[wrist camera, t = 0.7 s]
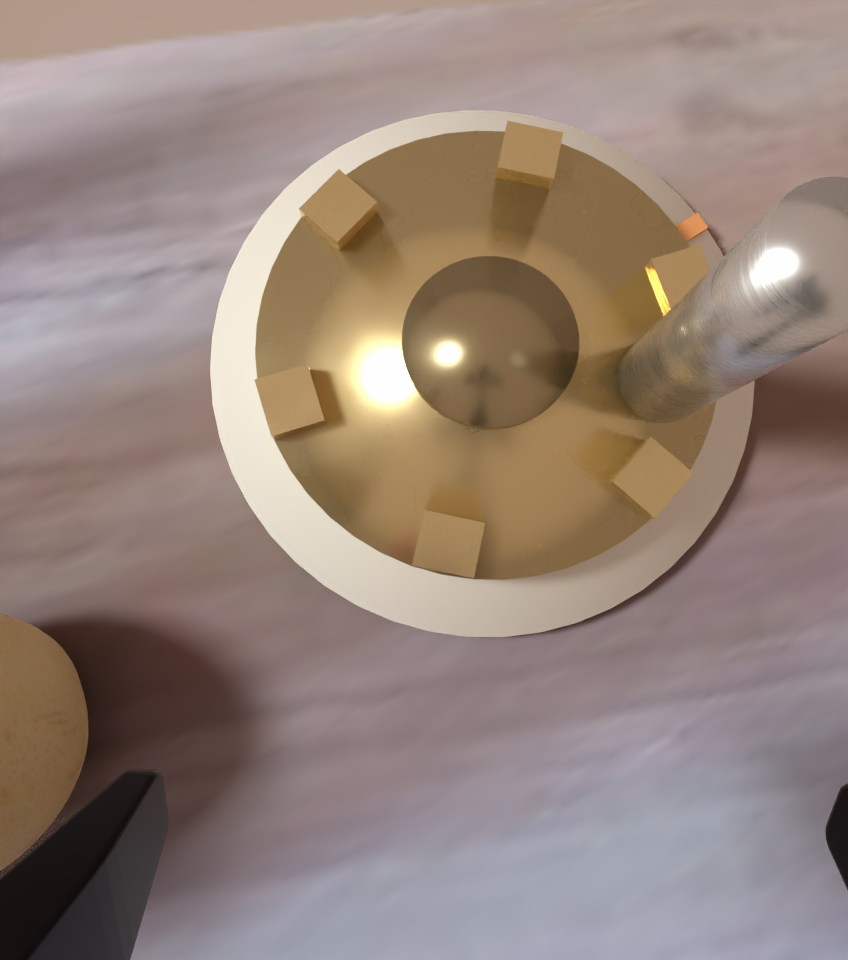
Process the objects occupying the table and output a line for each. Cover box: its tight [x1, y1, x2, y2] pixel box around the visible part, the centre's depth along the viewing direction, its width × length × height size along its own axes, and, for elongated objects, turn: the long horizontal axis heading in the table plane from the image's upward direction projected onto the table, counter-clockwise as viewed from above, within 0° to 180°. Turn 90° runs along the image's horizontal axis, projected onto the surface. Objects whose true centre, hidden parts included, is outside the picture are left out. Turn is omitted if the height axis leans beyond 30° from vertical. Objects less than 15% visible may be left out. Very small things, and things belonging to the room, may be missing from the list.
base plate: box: [210, 110, 755, 637], centre depth 23 cm, size 20×20×1 cm
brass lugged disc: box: [255, 121, 848, 580], centre depth 17 cm, size 16×16×10 cm
